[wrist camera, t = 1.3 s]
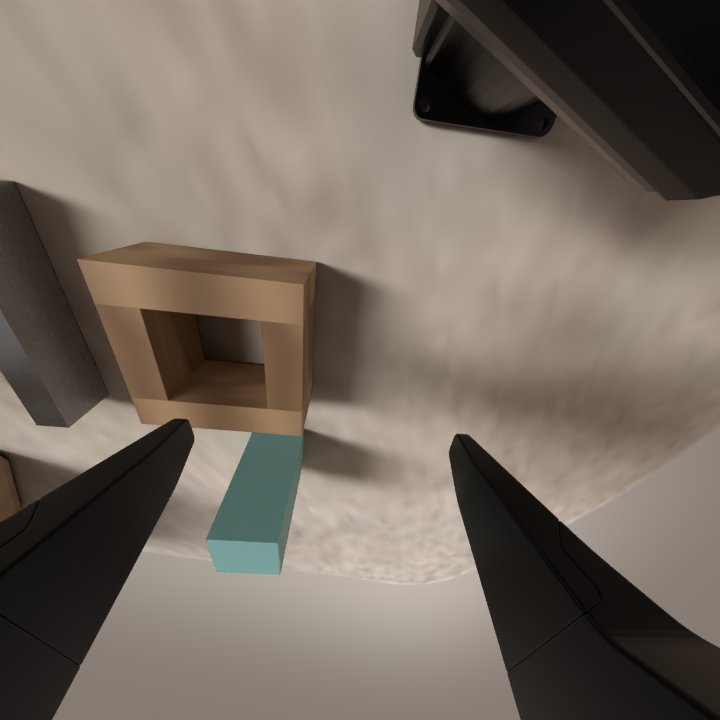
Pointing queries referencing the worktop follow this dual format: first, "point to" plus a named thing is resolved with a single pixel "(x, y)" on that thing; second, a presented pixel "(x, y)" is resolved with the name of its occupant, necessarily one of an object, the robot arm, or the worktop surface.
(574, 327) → the worktop surface
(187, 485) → the worktop surface
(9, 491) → the block
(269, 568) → the turquoise rectangular prism
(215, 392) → the socket block
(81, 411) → the backstop wall
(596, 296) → the worktop surface
